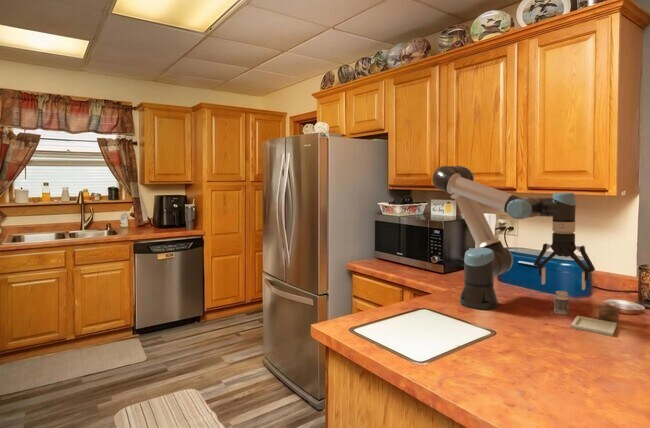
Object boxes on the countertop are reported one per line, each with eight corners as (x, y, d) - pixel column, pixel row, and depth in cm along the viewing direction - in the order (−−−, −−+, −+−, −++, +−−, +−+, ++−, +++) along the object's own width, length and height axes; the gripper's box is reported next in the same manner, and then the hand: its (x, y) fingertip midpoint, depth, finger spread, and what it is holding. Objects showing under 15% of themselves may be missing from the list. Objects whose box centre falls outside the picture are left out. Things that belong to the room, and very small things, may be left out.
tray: (570, 328, 136) (570, 324, 136) (577, 318, 145) (577, 315, 145) (612, 336, 128) (613, 333, 128) (616, 326, 137) (617, 322, 137)
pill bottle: (570, 315, 149) (570, 293, 149) (556, 314, 150) (557, 293, 150) (565, 311, 154) (565, 290, 153) (552, 310, 155) (552, 290, 154)
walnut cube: (601, 322, 142) (601, 308, 142) (598, 317, 146) (599, 304, 146) (618, 324, 140) (618, 310, 139) (615, 319, 144) (615, 306, 144)
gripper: (525, 231, 155) (525, 283, 157) (601, 235, 139) (600, 293, 140) (530, 229, 161) (530, 280, 162) (604, 233, 144) (603, 289, 146)
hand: (562, 286), depth 151 cm, fingers open, 13 cm apart
